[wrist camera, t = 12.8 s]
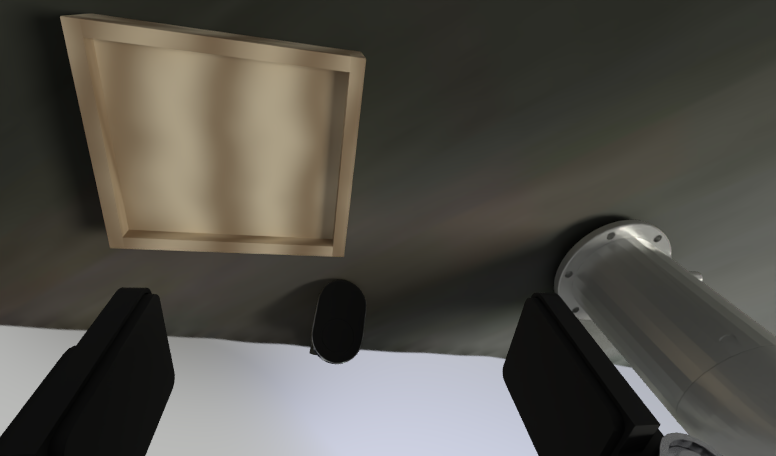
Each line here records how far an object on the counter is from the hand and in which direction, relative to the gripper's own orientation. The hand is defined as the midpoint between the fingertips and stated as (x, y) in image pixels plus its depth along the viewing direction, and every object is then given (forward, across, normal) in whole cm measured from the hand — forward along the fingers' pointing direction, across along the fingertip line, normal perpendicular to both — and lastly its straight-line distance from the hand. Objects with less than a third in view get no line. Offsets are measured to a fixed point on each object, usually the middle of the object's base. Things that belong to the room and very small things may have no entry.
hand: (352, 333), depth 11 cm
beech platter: (+25, +8, +3) cm, 26 cm away
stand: (+27, -1, +20) cm, 34 cm away
